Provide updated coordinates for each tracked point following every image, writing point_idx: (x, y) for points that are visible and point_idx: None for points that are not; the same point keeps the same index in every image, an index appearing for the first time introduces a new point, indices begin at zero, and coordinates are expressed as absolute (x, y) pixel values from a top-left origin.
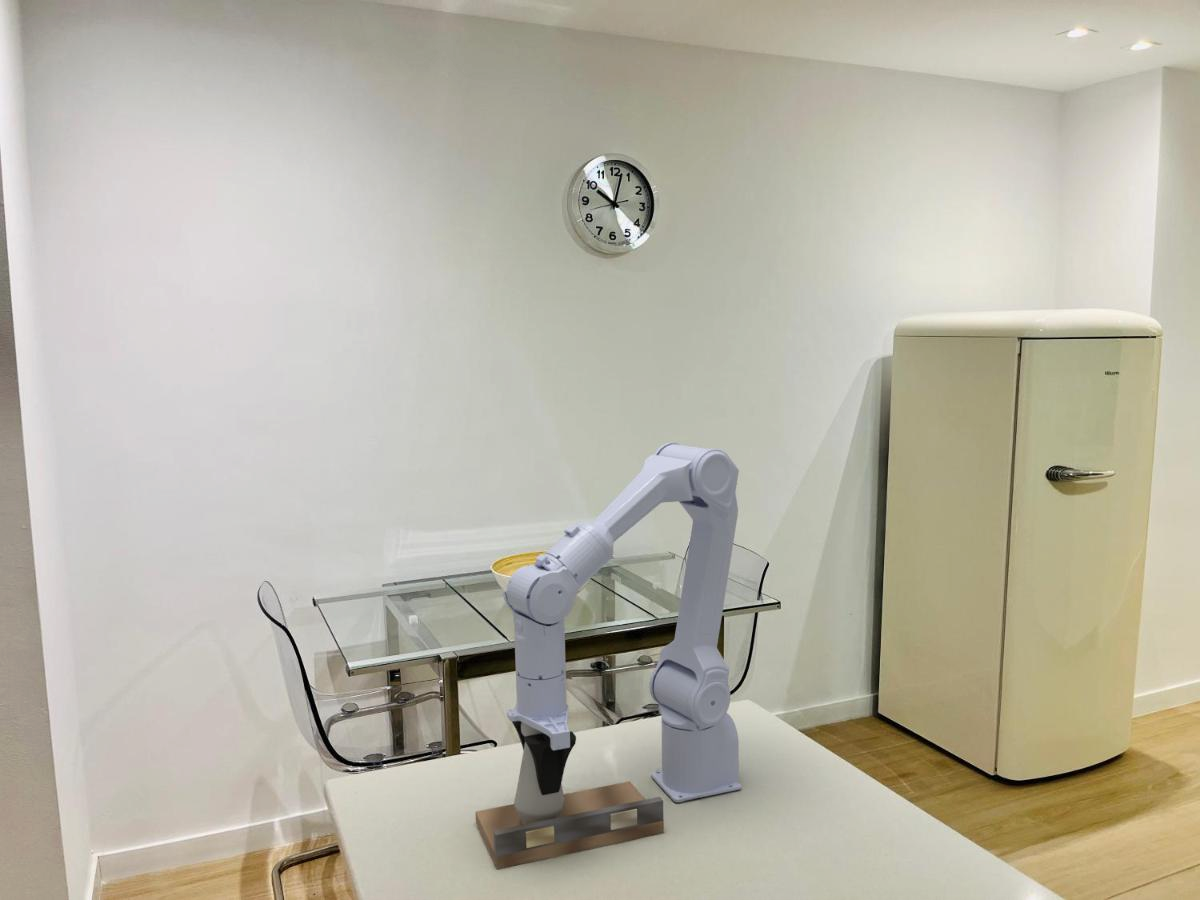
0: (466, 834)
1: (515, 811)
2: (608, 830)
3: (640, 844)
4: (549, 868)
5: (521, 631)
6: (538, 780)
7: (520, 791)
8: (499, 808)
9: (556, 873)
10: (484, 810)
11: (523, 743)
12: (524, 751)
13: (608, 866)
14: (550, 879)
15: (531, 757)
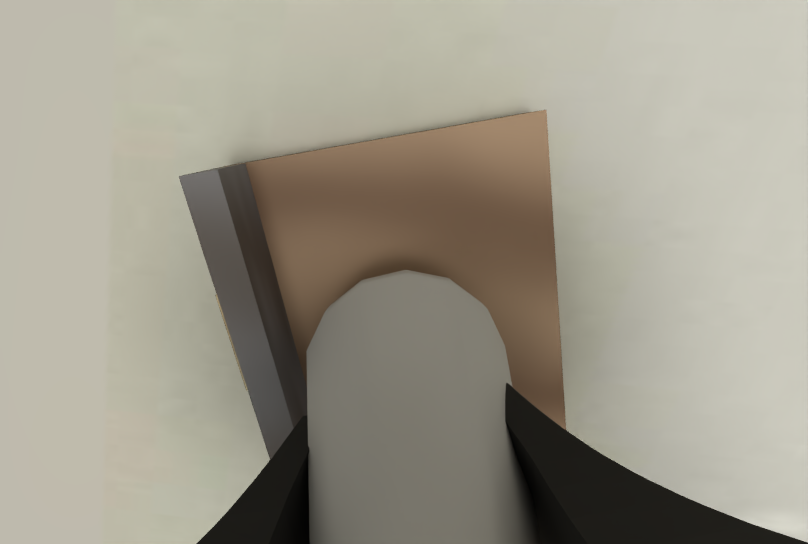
0: (467, 73)
1: (501, 256)
2: None
3: None
4: (220, 318)
5: None
6: (276, 456)
7: (359, 327)
8: (539, 203)
9: (193, 333)
10: (542, 146)
11: (552, 497)
12: (426, 491)
13: (215, 457)
14: (163, 315)
15: (335, 521)
